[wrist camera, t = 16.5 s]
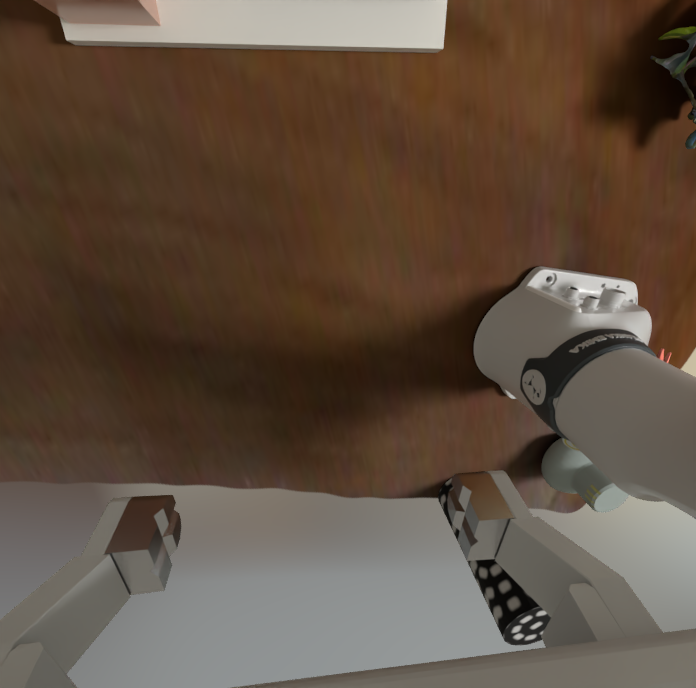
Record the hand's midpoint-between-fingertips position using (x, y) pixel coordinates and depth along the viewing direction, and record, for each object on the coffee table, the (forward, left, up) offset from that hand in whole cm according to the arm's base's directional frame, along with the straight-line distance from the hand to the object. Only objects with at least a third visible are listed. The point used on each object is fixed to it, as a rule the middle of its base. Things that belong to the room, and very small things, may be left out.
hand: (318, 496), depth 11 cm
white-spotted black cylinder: (-25, +41, -33) cm, 58 cm away
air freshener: (-42, +35, -33) cm, 64 cm away
